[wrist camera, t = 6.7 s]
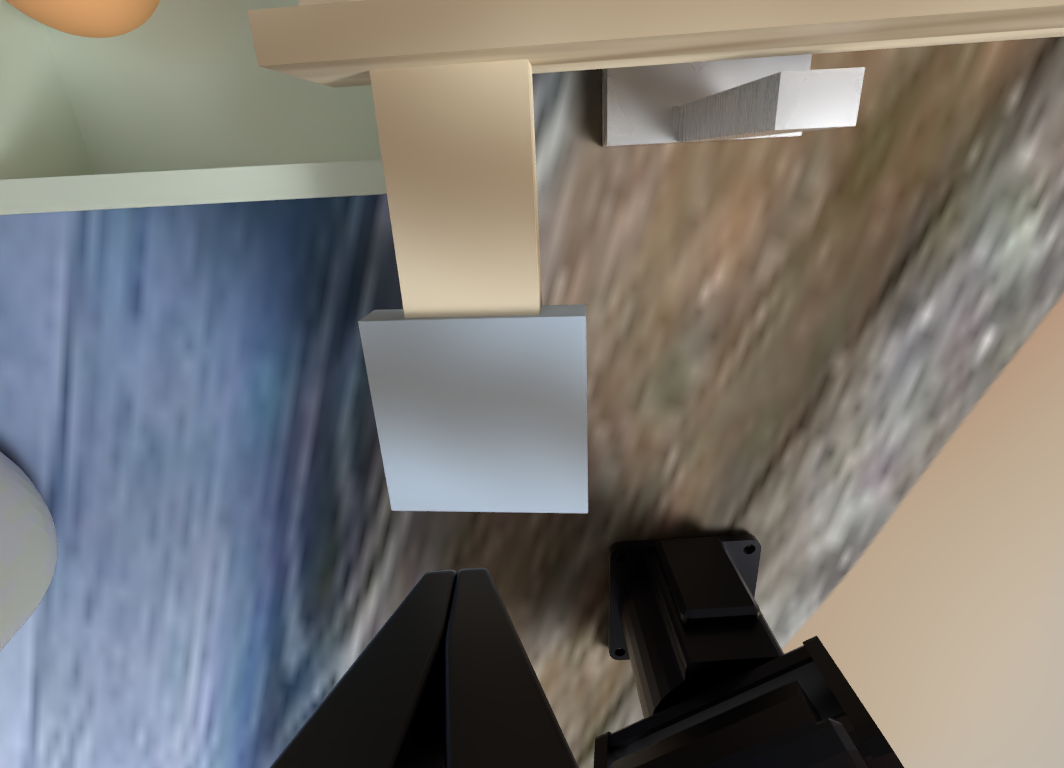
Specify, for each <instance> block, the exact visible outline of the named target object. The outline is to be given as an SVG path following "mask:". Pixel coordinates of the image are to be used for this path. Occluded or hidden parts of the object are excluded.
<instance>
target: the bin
mask: <svg viewBox="0 0 1064 768" xmlns="http://www.w3.org/2000/svg"><path fill="white" fill-rule="evenodd" d="M292 6H299V1H298V0H160V2H159V4H158V6H157V8H156V10H155V11H154V13H153V14H152V15H151V16H150V17H149V19H148V20H147V21H146V22H145V23H144V24H142V25H141V26H140V27H138V28H137V29H135V30H133V31H130V32H128V33H126V34H123V35H119V36H115V37H106V38H92V37H83V36H77V35H72V34H68V33H65V32H62V31H59V30H56V29H54V28H52V27H49V26H47V25H45V24H42V23H40V22H38V21H36V20H34V19H33V18H31V17H29V16H27V15H26V14H24V13H22V12H21V11H19V10H18V9H16V8H15V7H13V6H12V5H11V4H10V3H8V2H7V1H6V0H0V215H8V214H26V213H45V212H63V211H82V210H100V209H119V208H137V207H156V206H174V205H192V204H211V203H229V202H248V201H266V200H285V199H303V198H322V197H340V196H358V195H377V194H387V191H386V184H385V177H384V170H383V163H382V156H381V149H380V142H379V135H378V128H377V121H376V114H375V107H374V101H373V94H372V87H371V85H364V86H350V87H336V88H334V87H330V86H326V85H323V84H319V83H316V82H312V81H309V80H305V79H302V78H298V77H295V76H291V75H288V74H284V73H281V72H277V71H274V70H270V69H267V68H263V67H260V66H258V61H257V57H256V52H255V47H254V43H253V38H252V33H251V28H250V24H249V19H248V14H247V10H258V9H269V8H281V7H292Z"/></svg>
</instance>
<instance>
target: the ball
mask: <svg viewBox="0 0 1064 768" xmlns="http://www.w3.org/2000/svg"><path fill="white" fill-rule="evenodd" d="M6 1H7V2H8V3H10V4H11V5H12V6H13V7H15V8H16V9H18V10H19V11H21V12H22V13H24V14H26V15H27V16H29V17H31V18H33V19H34V20H36V21H38V22H40V23H42V24H45V25H47V26H49V27H52V28H54V29H56V30H59V31H62V32H65V33H68V34H72V35H77V36H83V37H92V38H106V37H115V36H119V35H123V34H126V33H128V32H130V31H133V30H135V29H137V28H138V27H140V26H141V25H142V24H144V23H145V22H146V21H147V20H148V19H149V17H150V16H151V15H152V14H153V13H154V11H155V10H156V8H157V6H158V4H159V2H160V0H6Z"/></svg>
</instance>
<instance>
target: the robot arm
mask: <svg viewBox="0 0 1064 768" xmlns="http://www.w3.org/2000/svg"><path fill="white" fill-rule="evenodd" d="M747 545H751V546H749V547H748V548H745V547H746V546H747ZM760 552H761V545H760V544H759V542H758V540H757V539H756V538H755V536H753V535H751V534H740V535H725V536H709V537H693V538H678V539H662V540H647V541H631V542H619V543H615V544H614V545H612V546H611V547H610V549H609V559H608V648H609V653H610V656H611V657H612V658H613V659H615V660H628V659H630V661H631V666H632V670H633V674H634V678H635V682H636V686H637V691H638V695H639V699H640V703H641V707H642V711H643V716H644V719H642V720H640V721H638V722H635V723H633V724H631V725H629V726H627V727H625V728H622V729H620V730H618V731H616V732H614V733H612V734H611V733H610V732H607V733H605V734H602V735H600V736H598V737H596V738H595V753H594V768H904V767H903V765H902V764H901V762H900V760H899V759H898V757H897V756H896V754H895V753H894V751H893V750H892V748H891V747H890V745H889V743H888V742H887V740H886V739H885V737H884V736H883V734H882V733H881V731H880V730H879V728H878V727H877V725H876V724H875V722H874V721H873V719H872V718H871V716H870V715H869V713H868V712H867V710H866V709H865V707H864V706H863V704H862V703H861V701H860V700H859V698H858V697H857V695H856V694H855V692H854V691H853V689H852V688H851V686H850V685H849V683H848V682H847V680H846V679H845V677H844V676H843V674H842V673H841V671H840V670H839V668H838V667H837V665H836V664H835V662H834V661H833V659H832V658H831V656H830V655H829V653H828V652H827V650H826V649H825V647H824V646H823V644H822V643H821V641H820V640H819V638H818V637H817V636H815V637H813V638H811V639H809V640H806V641H804V642H803V644H804V645H803V646H801V647H799V648H797V649H794V650H792V651H790V652H788V653H786V654H784V653H783V651H782V649H781V647H780V645H779V644H778V642H777V640H776V638H775V637H774V635H773V633H772V631H771V629H770V628H769V626H768V624H767V622H766V620H765V619H764V617H763V615H762V613H761V611H760V609H759V606H758V605H757V603H756V601H755V599H754V595H755V588H756V581H757V574H758V567H759V560H760ZM620 553H625V554H624V555H623V556H617V555H618V554H620ZM619 648H621V649H619ZM270 768H578V765H577V763H576V761H575V759H574V757H573V754H572V752H571V750H570V748H569V746H568V743H567V741H566V739H565V737H564V735H563V733H562V730H561V728H560V726H559V724H558V722H557V719H556V717H555V715H554V713H553V711H552V708H551V706H550V704H549V702H548V700H547V698H546V695H545V693H544V691H543V689H542V687H541V684H540V682H539V680H538V678H537V676H536V673H535V671H534V669H533V667H532V665H531V663H530V660H529V658H528V656H527V654H526V652H525V649H524V647H523V645H522V643H521V641H520V638H519V636H518V634H517V632H516V630H515V628H514V625H513V623H512V621H511V619H510V617H509V614H508V612H507V610H506V608H505V606H504V604H503V601H502V599H501V597H500V595H499V593H498V590H497V588H496V586H495V584H494V582H493V579H492V577H491V575H490V573H489V571H488V570H487V569H486V568H469V569H461V570H460V571H459V572H458V573H457V572H456V571H455V570H438V571H430V572H428V573H426V574H425V575H424V576H423V577H422V579H421V580H420V581H419V582H418V584H417V585H416V586H415V587H414V589H413V590H412V591H411V592H410V594H409V595H408V596H407V597H406V599H405V600H404V601H403V602H402V604H401V605H400V606H399V607H398V609H397V610H396V611H395V612H394V614H393V615H392V616H391V617H390V618H389V620H388V621H387V622H386V623H385V625H384V626H383V627H382V628H381V630H380V631H379V632H378V633H377V635H376V636H375V637H374V638H373V640H372V641H371V642H370V643H369V645H368V646H367V647H366V648H365V650H364V651H363V652H362V653H361V655H360V656H359V657H358V658H357V660H356V661H355V662H354V663H353V665H352V666H351V667H350V668H349V670H348V671H347V672H346V673H345V675H344V676H343V677H342V678H341V680H340V681H339V682H338V683H337V685H336V686H335V687H334V688H333V689H332V691H331V692H330V693H329V694H328V696H327V697H326V698H325V699H324V701H323V702H322V703H321V704H320V706H319V707H318V708H317V709H316V711H315V712H314V713H313V714H312V716H311V717H310V718H309V719H308V721H307V722H306V723H305V724H304V726H303V727H302V728H301V729H300V731H299V732H298V733H297V734H296V736H295V737H294V738H293V739H292V741H291V742H290V743H289V744H288V746H287V747H286V748H285V749H284V751H283V752H282V753H281V754H280V756H279V757H278V758H277V759H276V760H275V762H274V763H273V764H272V765H271V767H270Z"/></svg>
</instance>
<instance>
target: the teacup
mask: <svg viewBox="0 0 1064 768" xmlns="http://www.w3.org/2000/svg"><path fill="white" fill-rule="evenodd" d="M57 555H58V541H57V533H56V529H55V525H54V522H53V518H52V515H51V513H50V511H49V509H48V507H47V504H46V503H45V501H44V500H43V498H42V496H41V495H40V493H39V492H38V490H37V489H36V487H35V486H34V484H33V483H32V481H31V480H30V479H29V477H28V476H27V475H26V474H25V473H24V472H23V471H22V469H21V468H20V467H19V466H17V465H16V464H15V463H14V462H13V461H11V460H10V459H9V458H8V457H6V456H5V455H4V454H3V453H2V452H0V650H1V649H2V648H3V647H4V646H5V645H6V644H7V642H8V641H9V640H10V639H11V638H12V637H13V636H14V635H15V633H16V632H17V631H18V630H19V629H20V628H21V626H22V625H23V624H24V623H25V622H26V620H27V619H28V618H29V617H30V615H31V614H32V613H33V611H34V610H35V609H36V607H37V606H38V604H39V603H40V601H41V600H42V598H43V597H44V595H45V593H46V591H47V589H48V587H49V585H50V583H51V581H52V578H53V575H54V572H55V569H56V562H57Z"/></svg>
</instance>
